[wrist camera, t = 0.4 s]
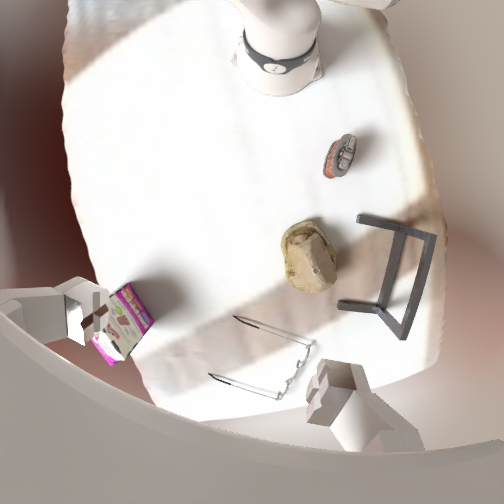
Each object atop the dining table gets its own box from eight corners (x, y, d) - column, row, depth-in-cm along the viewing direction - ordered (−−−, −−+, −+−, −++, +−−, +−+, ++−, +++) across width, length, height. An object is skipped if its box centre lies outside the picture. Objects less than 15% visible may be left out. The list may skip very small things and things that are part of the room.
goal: (357, 215, 53) (385, 222, 39) (402, 225, 53) (437, 235, 39) (336, 306, 57) (355, 337, 44) (380, 311, 57) (405, 340, 44)
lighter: (335, 181, 52) (350, 179, 42) (319, 174, 52) (332, 171, 42) (347, 145, 50) (364, 136, 40) (332, 138, 50) (346, 127, 40)
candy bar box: (114, 290, 58) (75, 319, 42) (128, 281, 58) (90, 309, 42) (140, 330, 60) (109, 367, 44) (155, 322, 60) (126, 360, 44)
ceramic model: (343, 274, 56) (358, 291, 46) (295, 297, 57) (301, 317, 47) (318, 213, 53) (330, 217, 43) (267, 236, 55) (268, 246, 45)
